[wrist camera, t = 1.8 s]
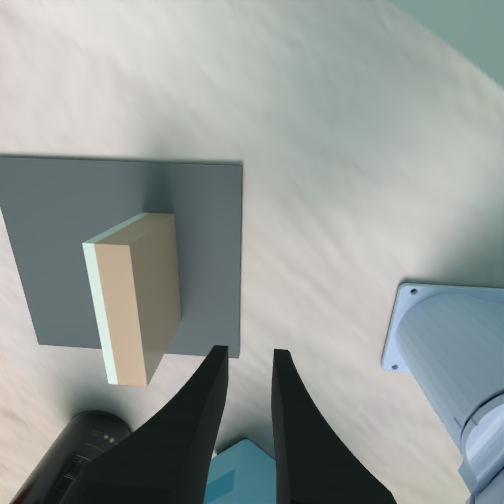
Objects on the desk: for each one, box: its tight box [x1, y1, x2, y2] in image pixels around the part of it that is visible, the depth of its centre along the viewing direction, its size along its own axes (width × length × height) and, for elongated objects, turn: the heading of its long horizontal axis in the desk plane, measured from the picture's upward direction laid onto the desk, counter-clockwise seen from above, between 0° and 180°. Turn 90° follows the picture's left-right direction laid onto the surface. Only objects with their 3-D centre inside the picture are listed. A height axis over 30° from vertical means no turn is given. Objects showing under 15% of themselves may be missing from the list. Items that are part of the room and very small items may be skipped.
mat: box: [0, 157, 242, 358], centre depth 23 cm, size 18×16×1 cm
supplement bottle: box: [9, 411, 130, 504], centre depth 24 cm, size 7×7×12 cm
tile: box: [82, 212, 182, 387], centre depth 19 cm, size 2×9×7 cm, turn 178°
